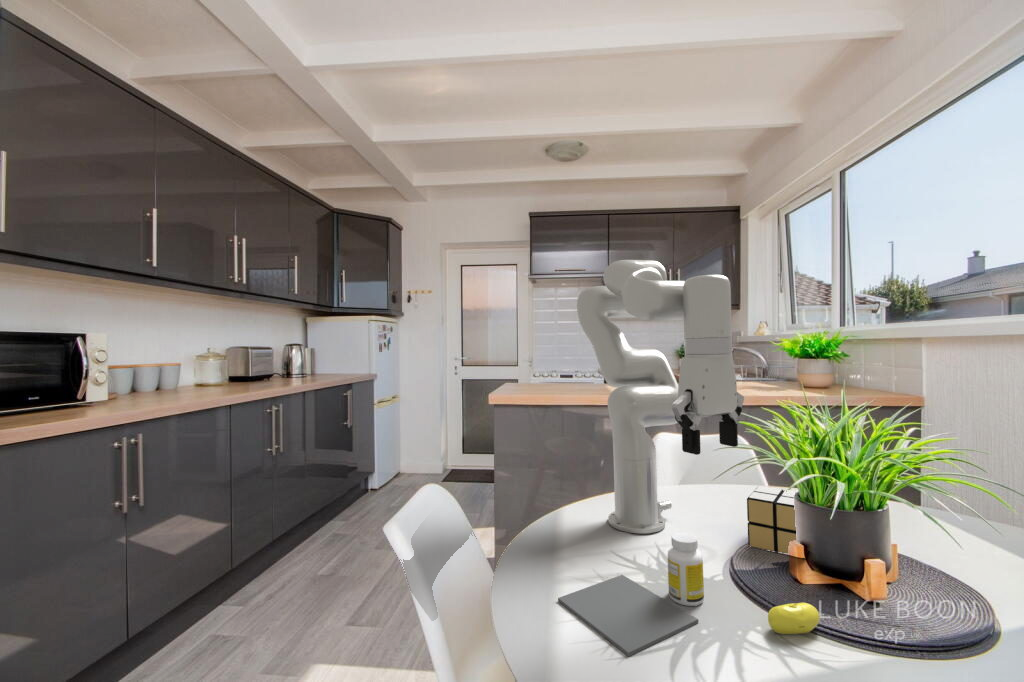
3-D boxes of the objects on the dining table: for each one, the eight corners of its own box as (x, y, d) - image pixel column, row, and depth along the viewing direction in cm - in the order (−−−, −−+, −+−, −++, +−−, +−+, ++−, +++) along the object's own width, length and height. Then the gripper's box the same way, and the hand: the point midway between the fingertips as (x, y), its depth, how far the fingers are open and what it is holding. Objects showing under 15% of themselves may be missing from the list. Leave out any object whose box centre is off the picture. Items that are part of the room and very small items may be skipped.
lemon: (759, 625, 69) (759, 598, 69) (808, 619, 70) (807, 593, 70) (780, 643, 64) (779, 614, 64) (831, 636, 66) (831, 608, 66)
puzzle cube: (759, 531, 102) (757, 485, 102) (813, 542, 96) (812, 493, 96) (747, 547, 94) (746, 497, 94) (806, 560, 88) (804, 507, 88)
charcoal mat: (622, 577, 83) (622, 574, 83) (698, 622, 69) (698, 619, 69) (558, 601, 76) (558, 597, 76) (628, 656, 62) (628, 652, 62)
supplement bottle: (706, 594, 77) (704, 534, 77) (701, 610, 72) (699, 547, 73) (672, 586, 80) (670, 528, 80) (665, 601, 75) (663, 540, 75)
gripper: (721, 347, 87) (723, 439, 87) (654, 350, 79) (657, 451, 79) (759, 347, 81) (762, 446, 81) (691, 350, 72) (694, 461, 72)
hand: (710, 448), depth 80 cm, fingers open, 9 cm apart
